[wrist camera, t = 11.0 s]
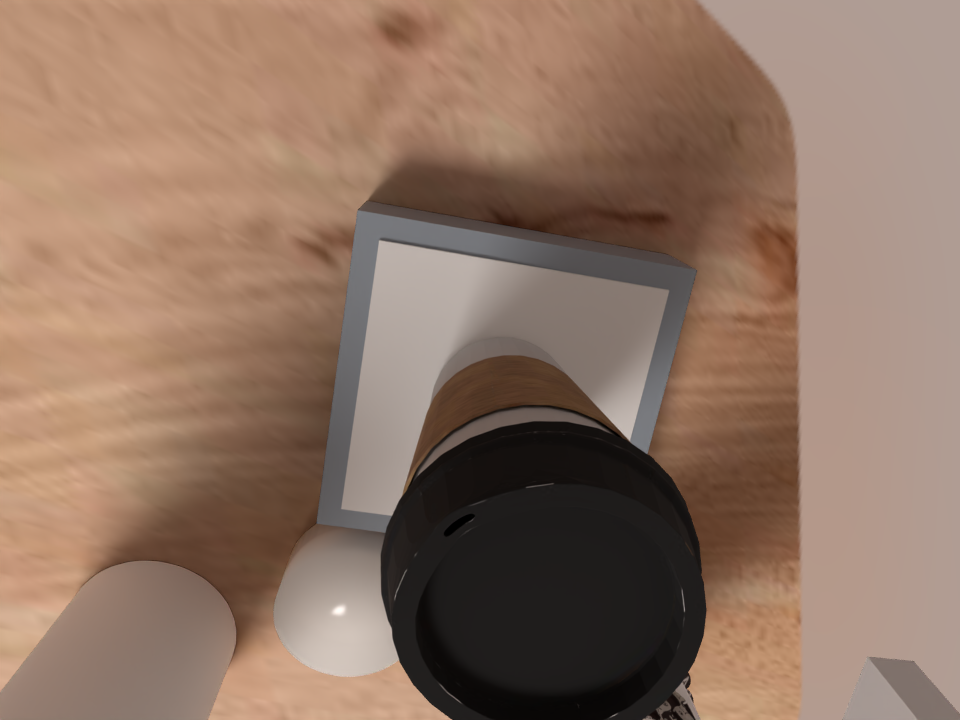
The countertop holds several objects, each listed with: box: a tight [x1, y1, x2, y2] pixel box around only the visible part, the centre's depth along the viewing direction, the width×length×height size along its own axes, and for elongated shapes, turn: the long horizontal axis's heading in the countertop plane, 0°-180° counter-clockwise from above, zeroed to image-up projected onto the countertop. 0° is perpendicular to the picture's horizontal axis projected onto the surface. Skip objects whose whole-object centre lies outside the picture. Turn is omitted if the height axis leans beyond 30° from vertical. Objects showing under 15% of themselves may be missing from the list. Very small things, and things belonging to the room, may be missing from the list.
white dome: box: [273, 524, 399, 677], centre depth 36 cm, size 7×7×4 cm
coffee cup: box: [380, 337, 706, 720], centre depth 24 cm, size 8×8×15 cm
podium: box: [316, 201, 697, 533], centre depth 33 cm, size 14×14×4 cm
